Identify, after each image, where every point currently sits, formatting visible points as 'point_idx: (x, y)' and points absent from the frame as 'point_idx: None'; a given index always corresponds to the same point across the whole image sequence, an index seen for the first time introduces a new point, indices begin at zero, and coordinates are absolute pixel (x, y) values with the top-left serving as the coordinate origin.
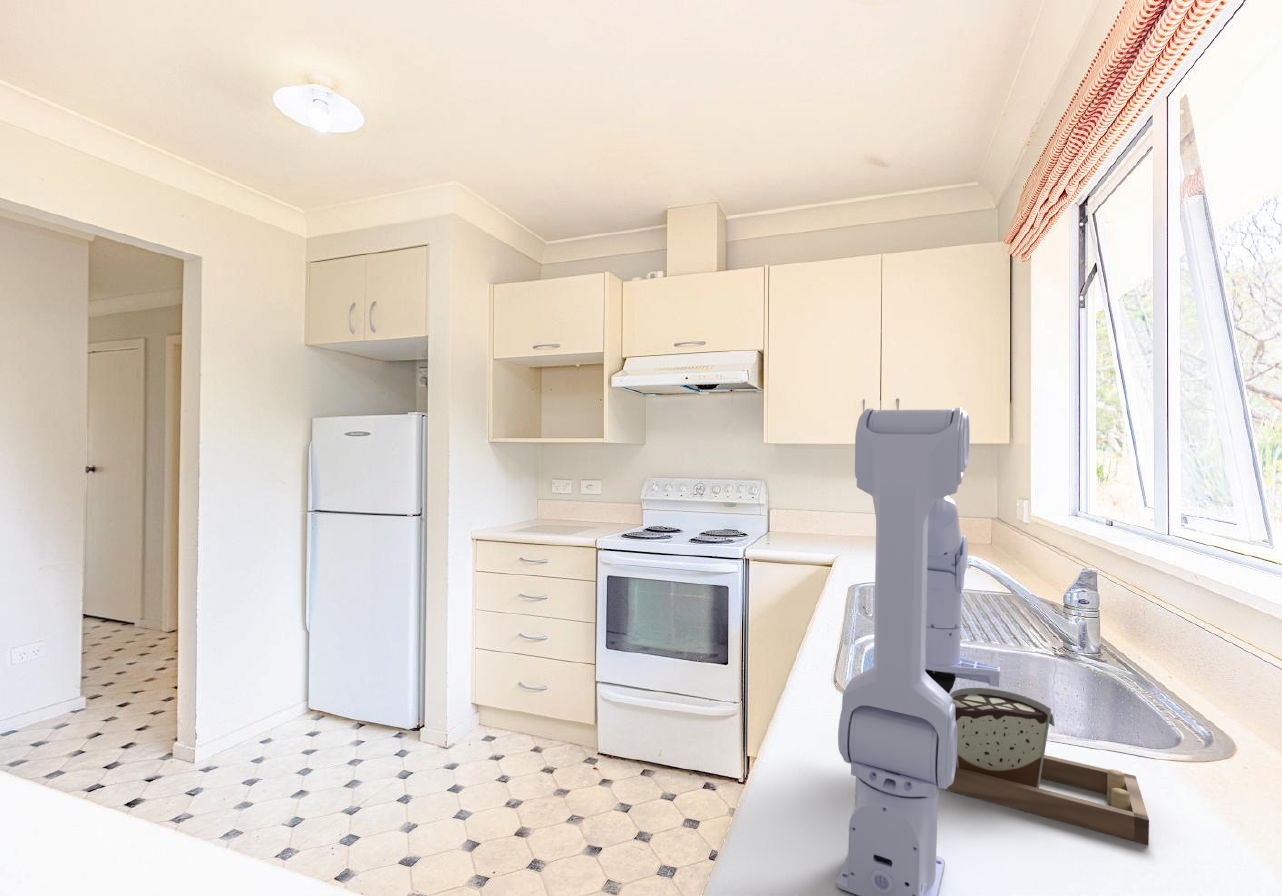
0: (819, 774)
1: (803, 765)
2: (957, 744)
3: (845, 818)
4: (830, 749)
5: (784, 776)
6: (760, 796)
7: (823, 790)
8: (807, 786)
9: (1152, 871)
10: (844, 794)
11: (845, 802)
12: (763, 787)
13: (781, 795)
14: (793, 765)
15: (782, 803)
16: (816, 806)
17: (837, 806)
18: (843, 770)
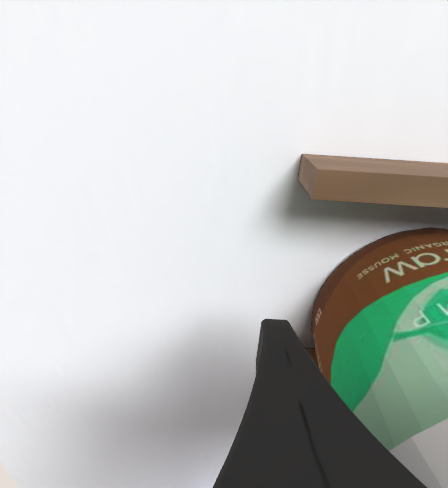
0: (60, 405)
1: (17, 390)
2: None
3: (149, 480)
4: (19, 306)
5: (16, 431)
6: (25, 481)
7: (91, 440)
8: (64, 440)
9: None
10: (125, 438)
11: (134, 453)
12: (12, 464)
13: (47, 470)
14: (3, 397)
15: (60, 483)
16: (103, 473)
17: (128, 464)
18: (89, 376)
